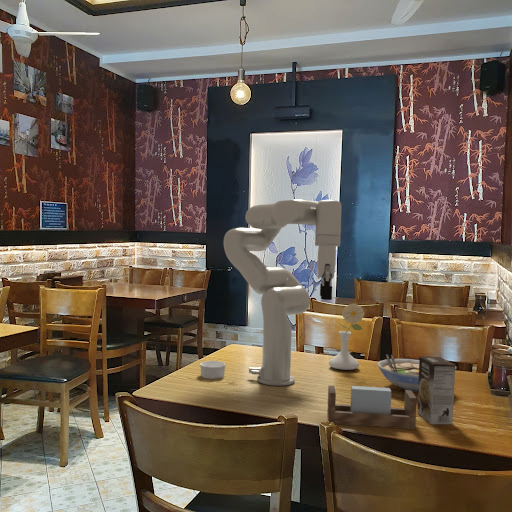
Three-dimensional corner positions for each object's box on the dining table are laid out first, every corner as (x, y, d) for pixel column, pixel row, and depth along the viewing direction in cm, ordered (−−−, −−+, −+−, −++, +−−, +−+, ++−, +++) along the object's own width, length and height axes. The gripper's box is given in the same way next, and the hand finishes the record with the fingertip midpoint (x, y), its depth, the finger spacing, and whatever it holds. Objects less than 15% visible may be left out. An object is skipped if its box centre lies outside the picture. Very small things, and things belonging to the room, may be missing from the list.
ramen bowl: (456, 403, 151) (457, 376, 151) (378, 396, 156) (379, 370, 156) (442, 381, 176) (443, 358, 176) (375, 376, 180) (376, 353, 180)
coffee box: (416, 412, 141) (418, 355, 141) (438, 413, 142) (440, 356, 142) (430, 424, 132) (432, 363, 132) (453, 424, 133) (456, 363, 132)
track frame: (328, 423, 131) (329, 392, 130) (327, 414, 138) (328, 385, 137) (415, 429, 128) (416, 398, 128) (409, 419, 135) (411, 390, 135)
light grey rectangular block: (351, 419, 132) (352, 388, 132) (350, 415, 135) (351, 385, 135) (390, 421, 131) (391, 391, 131) (388, 417, 134) (389, 388, 134)
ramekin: (224, 380, 169) (224, 367, 169) (198, 379, 169) (198, 366, 169) (226, 373, 178) (226, 361, 178) (201, 372, 178) (201, 360, 178)
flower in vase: (323, 369, 188) (326, 302, 188) (335, 363, 198) (337, 300, 198) (356, 374, 182) (359, 305, 181) (367, 368, 191) (370, 303, 191)
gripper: (314, 241, 161) (312, 294, 161) (315, 240, 144) (313, 300, 144) (338, 242, 160) (336, 295, 161) (342, 241, 143) (340, 301, 143)
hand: (325, 297), depth 152 cm, fingers open, 9 cm apart
